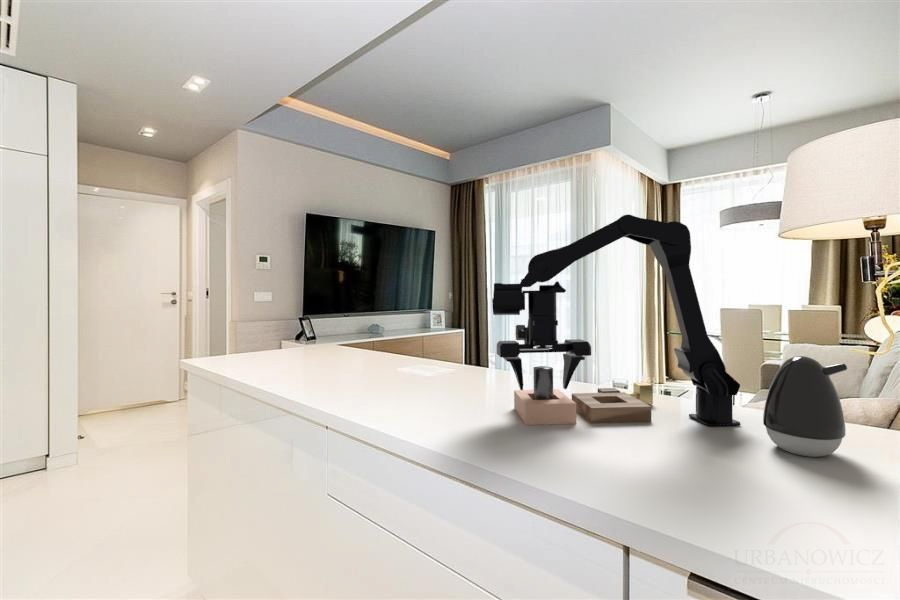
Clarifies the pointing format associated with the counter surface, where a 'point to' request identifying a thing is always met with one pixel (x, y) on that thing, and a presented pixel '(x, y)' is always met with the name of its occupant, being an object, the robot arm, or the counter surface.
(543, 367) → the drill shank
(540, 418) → the block
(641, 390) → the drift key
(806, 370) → the pump dispenser
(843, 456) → the counter surface
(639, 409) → the socket block
